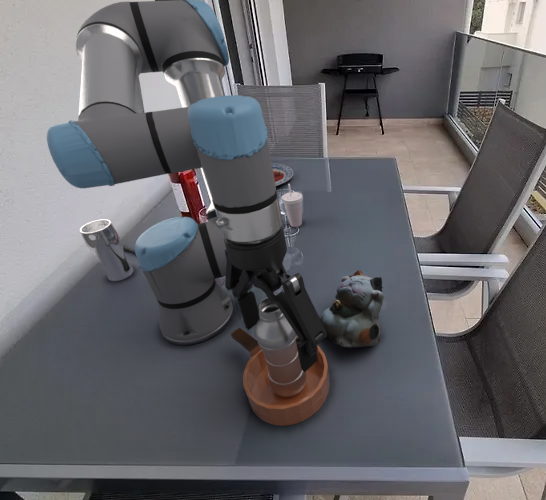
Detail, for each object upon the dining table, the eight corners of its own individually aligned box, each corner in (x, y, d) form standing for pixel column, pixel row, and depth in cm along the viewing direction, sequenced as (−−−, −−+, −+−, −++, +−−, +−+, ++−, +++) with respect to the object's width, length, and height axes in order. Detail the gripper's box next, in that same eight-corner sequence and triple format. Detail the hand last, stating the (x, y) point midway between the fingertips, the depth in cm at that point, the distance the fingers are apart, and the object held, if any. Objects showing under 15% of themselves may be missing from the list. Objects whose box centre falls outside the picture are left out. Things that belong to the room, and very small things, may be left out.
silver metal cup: (141, 269, 94) (118, 221, 86) (117, 285, 89) (90, 236, 81) (124, 263, 97) (99, 216, 88) (100, 278, 92) (72, 230, 83)
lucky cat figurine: (307, 324, 75) (317, 261, 73) (354, 322, 81) (365, 265, 79) (339, 357, 63) (353, 282, 61) (392, 352, 69) (406, 284, 67)
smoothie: (282, 227, 110) (274, 186, 102) (292, 217, 115) (286, 177, 107) (300, 230, 108) (294, 188, 100) (309, 220, 112) (304, 180, 104)
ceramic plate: (264, 164, 156) (262, 157, 154) (307, 175, 143) (306, 168, 141) (216, 185, 139) (214, 178, 137) (259, 200, 126) (258, 192, 124)
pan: (232, 392, 63) (226, 375, 60) (292, 342, 71) (288, 325, 69) (286, 444, 55) (281, 427, 52) (345, 380, 64) (344, 363, 61)
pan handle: (231, 343, 69) (227, 334, 67) (244, 333, 71) (241, 324, 69) (257, 365, 64) (254, 356, 63) (270, 353, 66) (268, 344, 65)
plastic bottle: (301, 405, 60) (284, 323, 48) (264, 398, 61) (239, 317, 50) (312, 373, 65) (299, 292, 53) (278, 368, 66) (258, 288, 55)
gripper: (176, 214, 49) (215, 322, 61) (299, 283, 35) (319, 404, 47) (222, 195, 53) (251, 299, 65) (347, 249, 40) (354, 367, 52)
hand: (279, 343), depth 56 cm, fingers open, 13 cm apart
